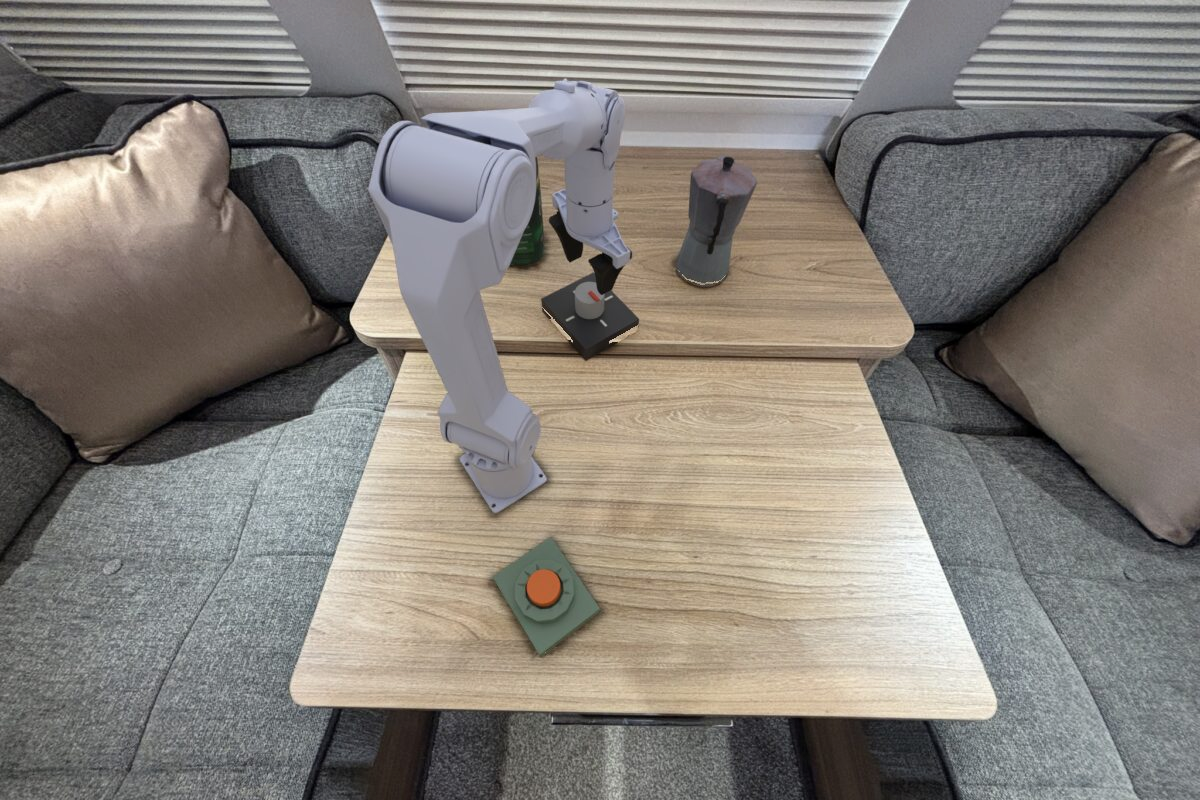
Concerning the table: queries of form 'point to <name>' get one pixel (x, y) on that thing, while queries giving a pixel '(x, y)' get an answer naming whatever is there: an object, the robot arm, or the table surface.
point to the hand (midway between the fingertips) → (589, 274)
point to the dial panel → (589, 332)
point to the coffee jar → (532, 233)
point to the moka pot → (714, 218)
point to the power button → (543, 588)
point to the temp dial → (588, 301)
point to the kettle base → (556, 619)
